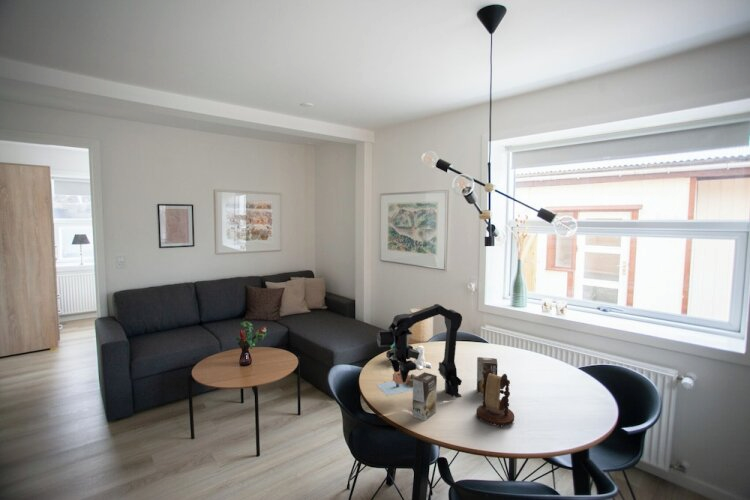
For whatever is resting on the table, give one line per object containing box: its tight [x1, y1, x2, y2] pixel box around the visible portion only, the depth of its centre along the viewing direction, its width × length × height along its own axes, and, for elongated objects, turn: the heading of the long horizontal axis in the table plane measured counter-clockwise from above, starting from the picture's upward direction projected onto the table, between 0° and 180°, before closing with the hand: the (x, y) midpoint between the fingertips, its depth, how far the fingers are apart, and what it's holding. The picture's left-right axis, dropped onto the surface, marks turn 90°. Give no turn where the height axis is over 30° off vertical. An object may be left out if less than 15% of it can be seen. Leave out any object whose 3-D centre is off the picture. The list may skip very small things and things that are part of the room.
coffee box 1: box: [411, 372, 438, 422], centre depth 154 cm, size 9×6×16 cm
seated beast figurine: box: [413, 345, 433, 371], centre depth 202 cm, size 10×9×12 cm
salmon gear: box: [392, 371, 409, 384], centre depth 163 cm, size 7×7×3 cm
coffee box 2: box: [476, 356, 498, 397], centre depth 172 cm, size 9×6×16 cm
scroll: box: [476, 369, 515, 429], centre depth 150 cm, size 15×15×20 cm
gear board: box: [376, 380, 413, 396], centre depth 178 cm, size 12×22×1 cm, turn 112°
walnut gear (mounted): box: [406, 373, 418, 387], centre depth 180 cm, size 7×7×4 cm
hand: (400, 378), depth 163 cm, fingers closed on salmon gear, 7 cm apart
